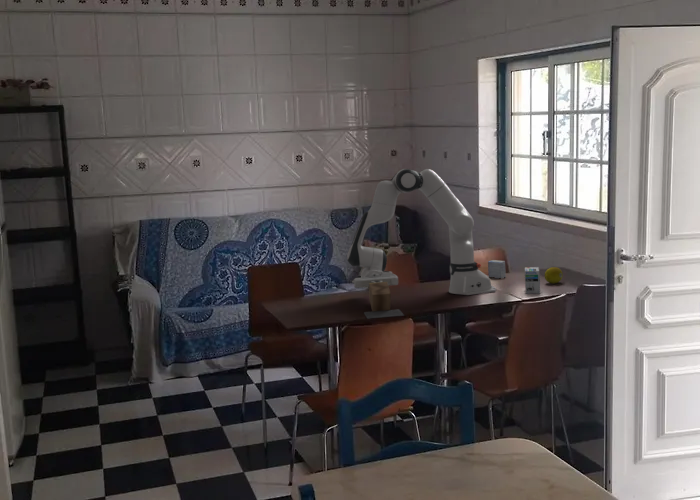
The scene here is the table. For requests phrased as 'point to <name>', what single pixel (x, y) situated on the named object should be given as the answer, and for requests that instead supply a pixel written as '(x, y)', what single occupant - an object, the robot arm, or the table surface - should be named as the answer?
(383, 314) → the charcoal mat
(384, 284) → the letter block
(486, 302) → the table surface
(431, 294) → the table surface
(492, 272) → the medicine box
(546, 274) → the lemon
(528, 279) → the light bulb box
